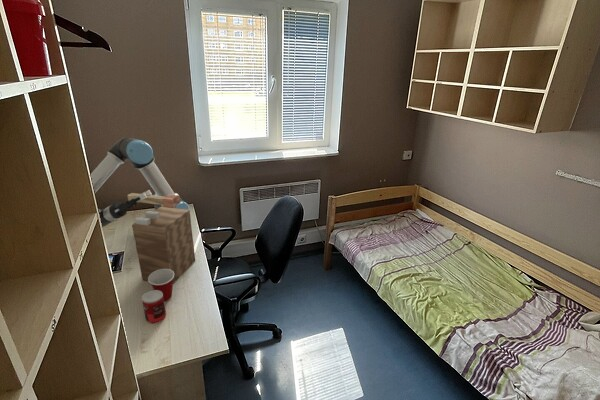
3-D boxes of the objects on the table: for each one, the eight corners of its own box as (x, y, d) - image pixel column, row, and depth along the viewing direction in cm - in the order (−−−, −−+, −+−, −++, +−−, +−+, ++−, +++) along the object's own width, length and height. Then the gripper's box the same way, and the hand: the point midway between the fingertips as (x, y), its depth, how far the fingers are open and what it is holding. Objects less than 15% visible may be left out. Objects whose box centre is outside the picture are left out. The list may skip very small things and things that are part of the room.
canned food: (149, 311, 140) (145, 290, 135) (168, 310, 140) (165, 289, 136) (142, 324, 132) (138, 302, 128) (163, 323, 133) (159, 301, 129)
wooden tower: (168, 256, 179) (161, 206, 168) (195, 260, 176) (189, 209, 165) (142, 280, 159) (131, 225, 148) (172, 285, 156) (163, 229, 145)
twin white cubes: (148, 215, 158) (148, 210, 157) (160, 217, 156) (159, 212, 155) (135, 224, 149) (134, 219, 148) (147, 225, 148) (146, 220, 147)
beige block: (134, 197, 163) (133, 190, 162) (180, 202, 158) (179, 195, 157) (126, 202, 158) (124, 194, 156) (173, 207, 153) (171, 199, 151)
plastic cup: (151, 308, 141) (146, 285, 137) (152, 293, 151) (148, 271, 146) (177, 303, 145) (174, 280, 140) (177, 288, 154) (174, 266, 150)
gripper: (130, 211, 173) (162, 194, 165) (108, 224, 159) (141, 206, 150) (122, 199, 171) (153, 181, 163) (98, 211, 157) (131, 192, 149)
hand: (147, 193), depth 157 cm, fingers closed on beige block, 3 cm apart
